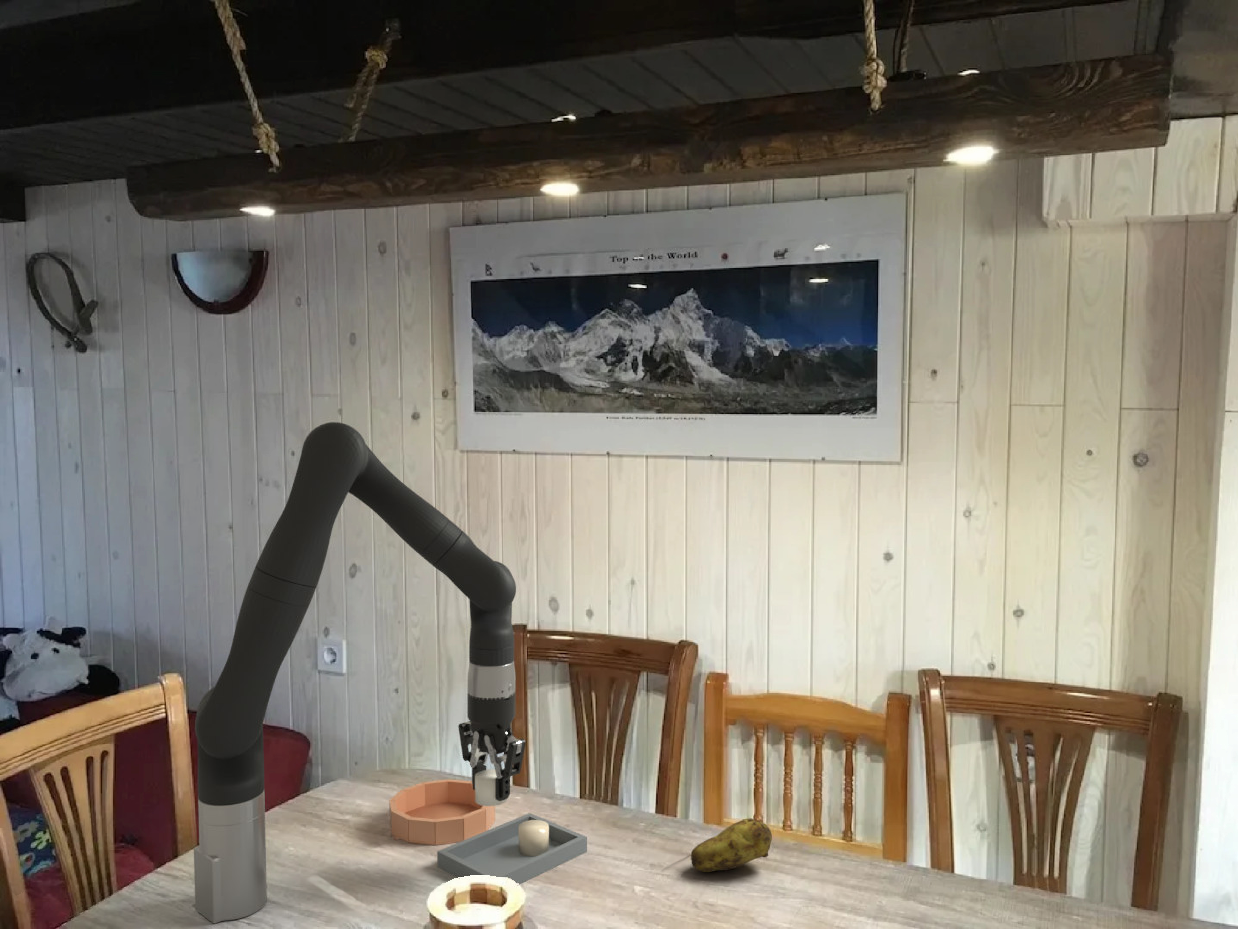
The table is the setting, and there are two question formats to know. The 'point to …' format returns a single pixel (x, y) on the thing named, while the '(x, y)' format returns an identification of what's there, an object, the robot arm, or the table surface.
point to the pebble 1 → (486, 788)
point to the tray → (510, 852)
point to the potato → (733, 846)
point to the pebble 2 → (533, 838)
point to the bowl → (438, 813)
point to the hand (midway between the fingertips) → (490, 794)
